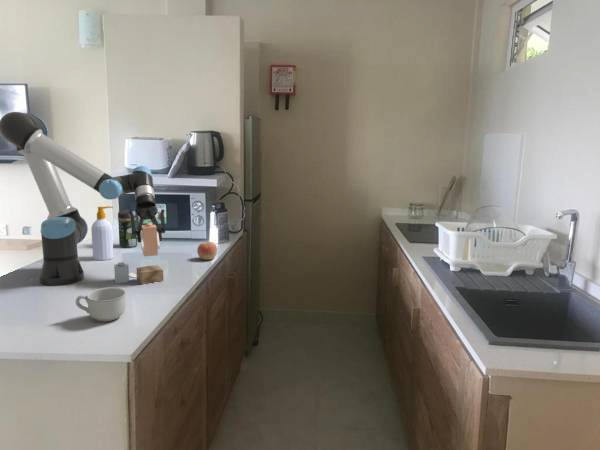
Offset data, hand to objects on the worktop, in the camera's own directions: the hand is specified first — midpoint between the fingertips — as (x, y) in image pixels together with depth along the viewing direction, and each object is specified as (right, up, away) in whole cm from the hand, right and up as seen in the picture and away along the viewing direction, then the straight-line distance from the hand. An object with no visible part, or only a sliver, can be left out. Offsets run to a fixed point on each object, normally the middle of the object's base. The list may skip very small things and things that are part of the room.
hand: (150, 248), depth 171 cm
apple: (+13, -7, +40) cm, 42 cm away
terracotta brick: (-2, -3, +4) cm, 5 cm away
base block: (-2, -13, +6) cm, 14 cm away
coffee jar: (-32, -2, +63) cm, 70 cm away
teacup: (-4, -20, -32) cm, 38 cm away
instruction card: (-10, -11, +14) cm, 20 cm away
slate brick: (-13, -13, +5) cm, 19 cm away
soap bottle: (-34, -7, +38) cm, 51 cm away
